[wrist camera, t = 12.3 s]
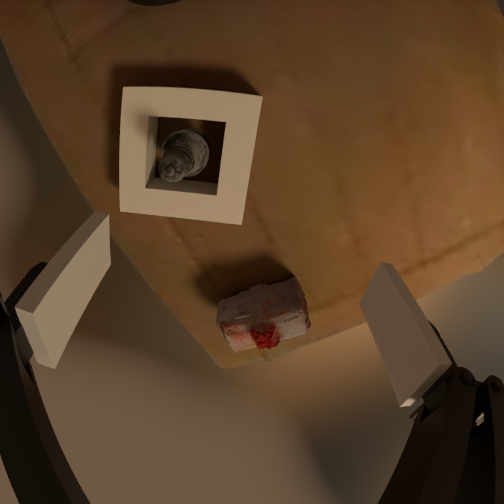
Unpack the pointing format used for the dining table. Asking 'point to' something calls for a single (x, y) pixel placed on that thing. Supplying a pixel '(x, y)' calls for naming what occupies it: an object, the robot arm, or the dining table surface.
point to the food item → (263, 315)
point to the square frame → (185, 191)
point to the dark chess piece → (183, 154)
